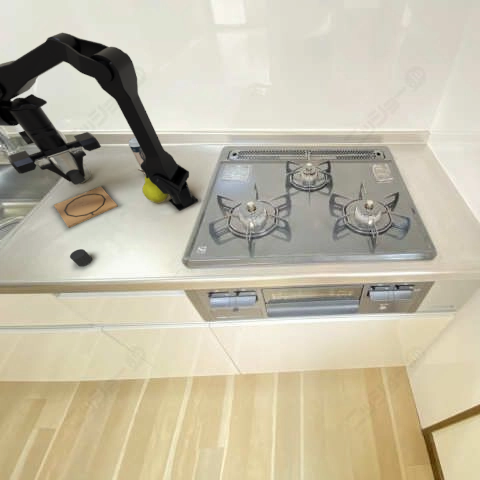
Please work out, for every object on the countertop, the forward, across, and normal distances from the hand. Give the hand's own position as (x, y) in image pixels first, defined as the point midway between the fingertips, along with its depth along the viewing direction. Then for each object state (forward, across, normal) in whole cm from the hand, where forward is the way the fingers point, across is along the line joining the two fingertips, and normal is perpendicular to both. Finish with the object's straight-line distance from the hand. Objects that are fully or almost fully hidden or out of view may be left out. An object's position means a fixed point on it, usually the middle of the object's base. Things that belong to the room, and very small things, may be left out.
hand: (77, 178), depth 80 cm
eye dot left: (+8, +10, +24) cm, 27 cm away
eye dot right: (+1, 0, 0) cm, 1 cm away
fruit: (+8, -15, +14) cm, 22 cm away
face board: (+8, +2, +2) cm, 9 cm away
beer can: (+8, -19, -2) cm, 21 cm away
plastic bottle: (+8, -1, -14) cm, 16 cm away
